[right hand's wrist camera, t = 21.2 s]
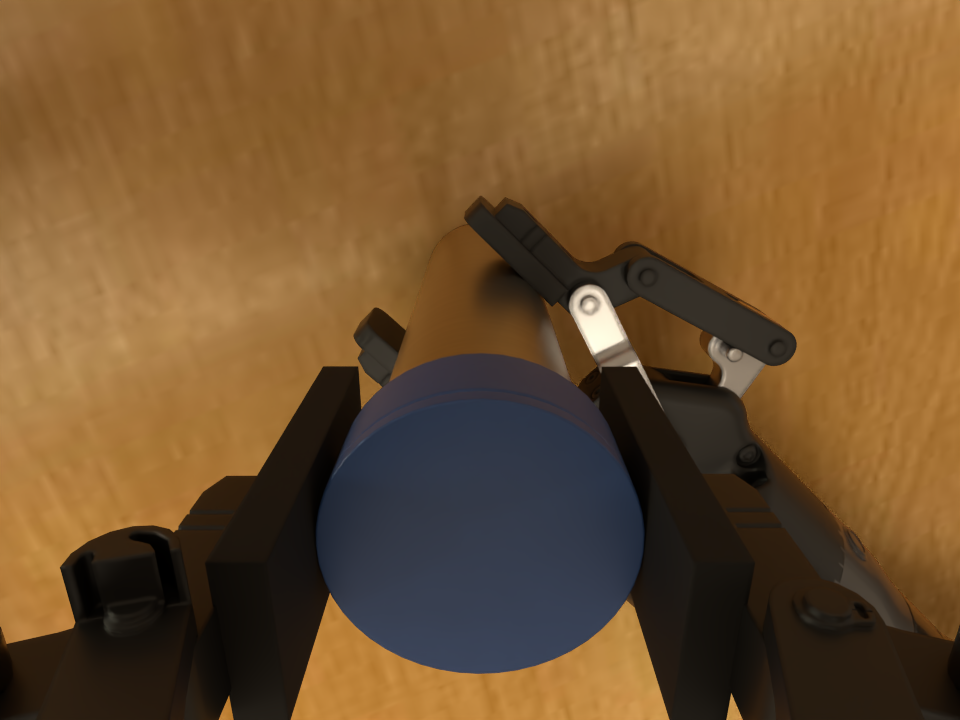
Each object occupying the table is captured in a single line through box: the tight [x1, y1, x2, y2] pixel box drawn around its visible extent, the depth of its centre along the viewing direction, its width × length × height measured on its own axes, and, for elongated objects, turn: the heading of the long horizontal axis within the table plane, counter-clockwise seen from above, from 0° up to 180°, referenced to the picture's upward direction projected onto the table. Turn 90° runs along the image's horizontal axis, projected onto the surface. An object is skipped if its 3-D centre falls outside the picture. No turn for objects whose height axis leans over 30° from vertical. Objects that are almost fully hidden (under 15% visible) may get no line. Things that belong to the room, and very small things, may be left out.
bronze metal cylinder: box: [389, 224, 571, 382], centre depth 19 cm, size 4×4×18 cm
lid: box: [316, 353, 645, 674], centre depth 11 cm, size 5×5×2 cm
